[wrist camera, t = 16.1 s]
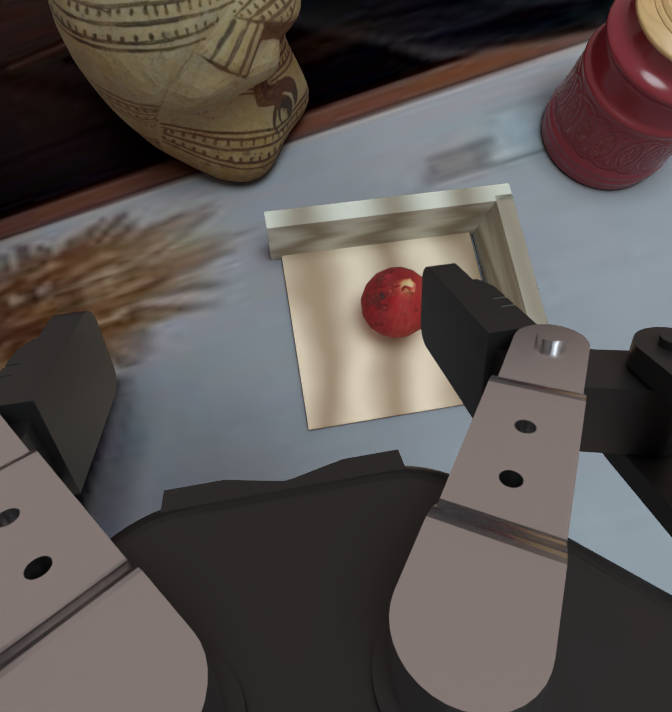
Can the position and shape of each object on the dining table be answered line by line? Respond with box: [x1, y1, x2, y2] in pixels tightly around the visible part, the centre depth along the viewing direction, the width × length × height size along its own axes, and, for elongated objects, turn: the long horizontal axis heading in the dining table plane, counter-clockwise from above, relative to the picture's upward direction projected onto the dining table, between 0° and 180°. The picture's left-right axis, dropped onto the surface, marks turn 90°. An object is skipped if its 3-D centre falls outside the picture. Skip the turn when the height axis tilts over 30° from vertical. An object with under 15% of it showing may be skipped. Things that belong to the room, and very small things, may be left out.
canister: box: [542, 0, 672, 190], centre depth 42 cm, size 13×13×18 cm
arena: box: [264, 183, 548, 430], centre depth 41 cm, size 21×18×6 cm
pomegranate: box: [361, 267, 422, 338], centre depth 40 cm, size 6×6×8 cm
